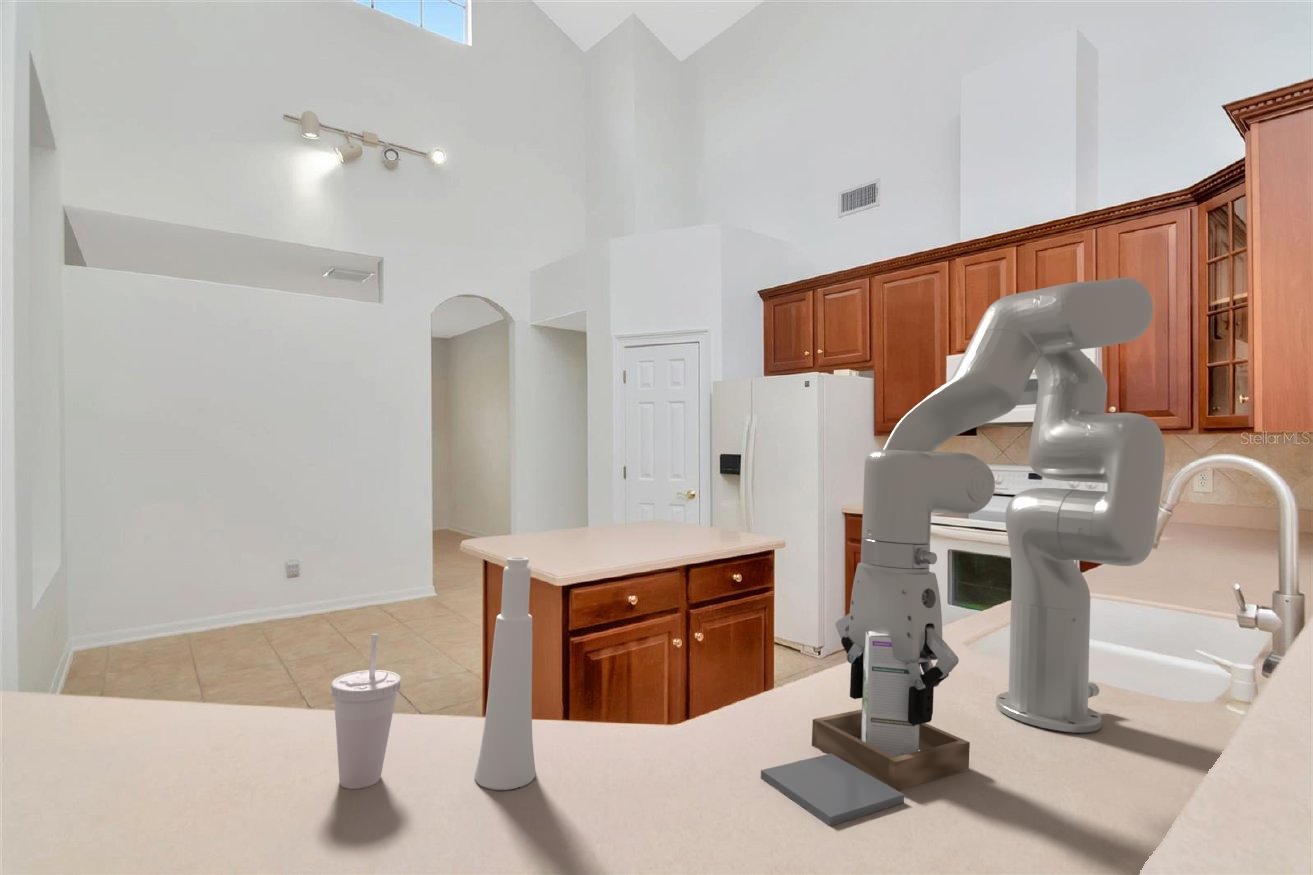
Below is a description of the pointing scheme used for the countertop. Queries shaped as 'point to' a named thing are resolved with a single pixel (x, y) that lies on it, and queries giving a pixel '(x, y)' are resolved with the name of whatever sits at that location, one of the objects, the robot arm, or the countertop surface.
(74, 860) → the countertop surface
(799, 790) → the plate
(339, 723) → the smoothie
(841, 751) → the brown wooden square frame
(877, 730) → the syrup box
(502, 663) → the cosmetic bottle
